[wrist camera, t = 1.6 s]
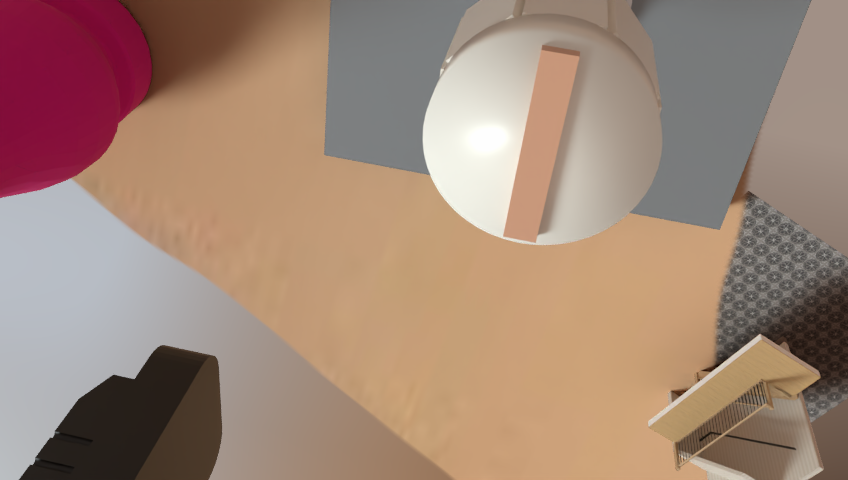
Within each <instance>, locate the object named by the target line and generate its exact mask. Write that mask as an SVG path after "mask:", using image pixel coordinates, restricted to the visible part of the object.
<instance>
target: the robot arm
mask: <svg viewBox="0 0 848 480" xmlns="http://www.w3.org/2000/svg"><path fill="white" fill-rule="evenodd" d="M221 437H222V419H221V400H220V383H219V366H218V361H217V358H216V357H215V356H212V355H207V354H202V353H198V352H193V351H188V350H184V349H179V348H175V347H170V346H165V345H162V346H160V347H158V348H157V349H156V350H155V351H154V352H153V353H152V354H151V356H150V357H149V359H148V360H147V362H146V363H145V365H144V366H143V367H142V369H141V370H140V372H139V373H138V375H137V376H136V378H135V379H130V378H126V377H121V376H117V375H113V376H111V377H110V378H108V379H107V380H105V381H104V382H103V383H101V384H100V385H98V386H97V387H95V388H94V389H93V390H91V391H90V392H88V393H87V394H85V395H84V396H82V397H81V398H80V399H78V401H77V402H76V403H75V405H74V406H73V408H72V409H71V410H70V412H69V413H68V414H67V416H66V417H65V418H64V420H63V421H62V422H61V424H60V425H59V426H58V428H57V429H56V430H55V435H54V437H53V438H50V439H49V440H48V441H47V443H46V444H45V445H44V447H43V448H42V449H41V451H40V452H39V453H38V455H37V456H36V458H35V462H34V464H33V465H30V466H29V467H28V468H27V470H26V471H25V472H24V474H23V475H22V476H21V478H20V479H19V480H208V479H209V477H210V475H211V473H212V471H213V468H214V466H215V463H216V460H217V456H218V453H219V448H220V444H221Z"/></svg>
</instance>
